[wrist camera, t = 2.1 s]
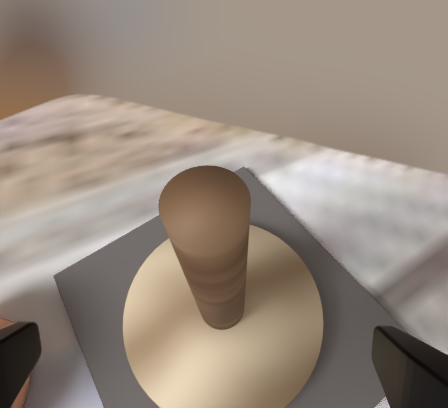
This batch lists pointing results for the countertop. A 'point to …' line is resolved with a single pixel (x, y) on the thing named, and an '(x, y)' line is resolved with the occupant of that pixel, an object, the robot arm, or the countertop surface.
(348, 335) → the mat
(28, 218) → the countertop surface
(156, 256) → the disc with tall peg
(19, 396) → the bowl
